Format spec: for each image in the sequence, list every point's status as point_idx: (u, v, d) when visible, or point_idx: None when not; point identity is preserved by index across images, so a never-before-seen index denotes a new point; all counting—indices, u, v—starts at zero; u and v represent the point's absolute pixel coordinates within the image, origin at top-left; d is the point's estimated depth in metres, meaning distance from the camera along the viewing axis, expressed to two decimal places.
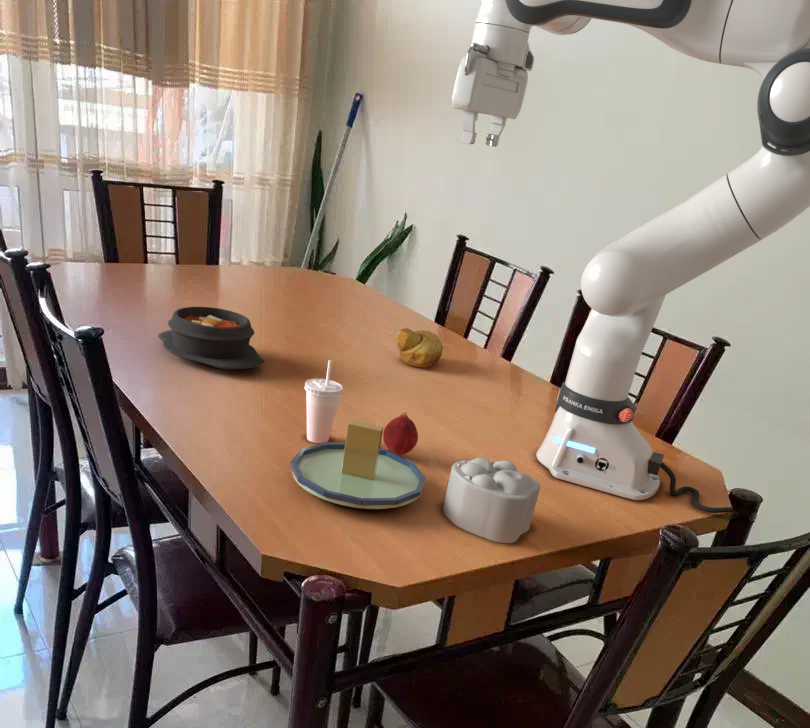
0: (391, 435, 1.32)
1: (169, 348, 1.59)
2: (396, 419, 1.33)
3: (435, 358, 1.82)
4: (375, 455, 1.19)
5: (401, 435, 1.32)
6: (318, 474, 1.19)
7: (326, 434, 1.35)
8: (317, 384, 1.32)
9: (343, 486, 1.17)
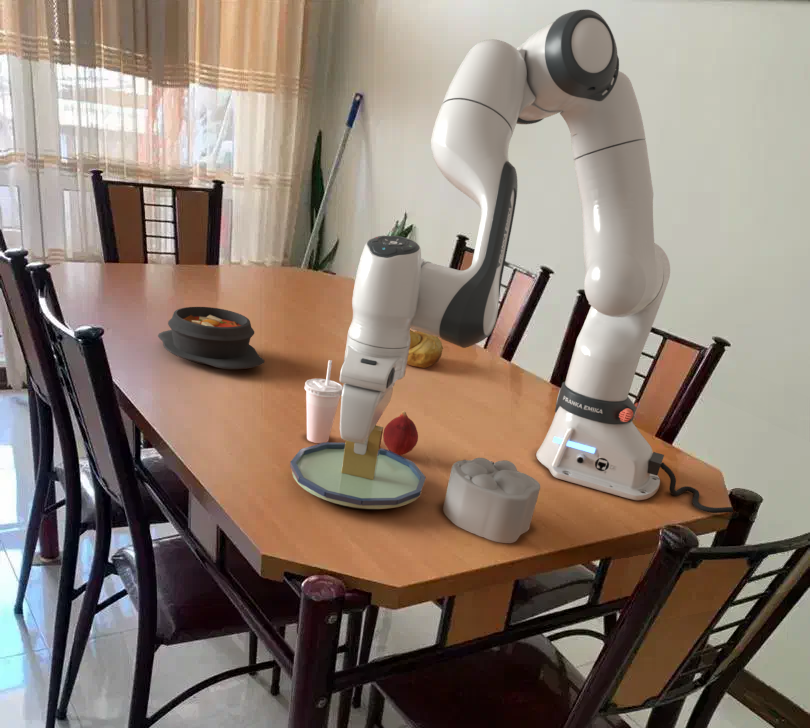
0: (391, 435, 1.32)
1: (169, 348, 1.59)
2: (396, 419, 1.33)
3: (435, 358, 1.82)
4: (375, 455, 1.19)
5: (401, 435, 1.32)
6: (318, 474, 1.19)
7: (326, 434, 1.35)
8: (317, 384, 1.32)
9: (343, 486, 1.17)
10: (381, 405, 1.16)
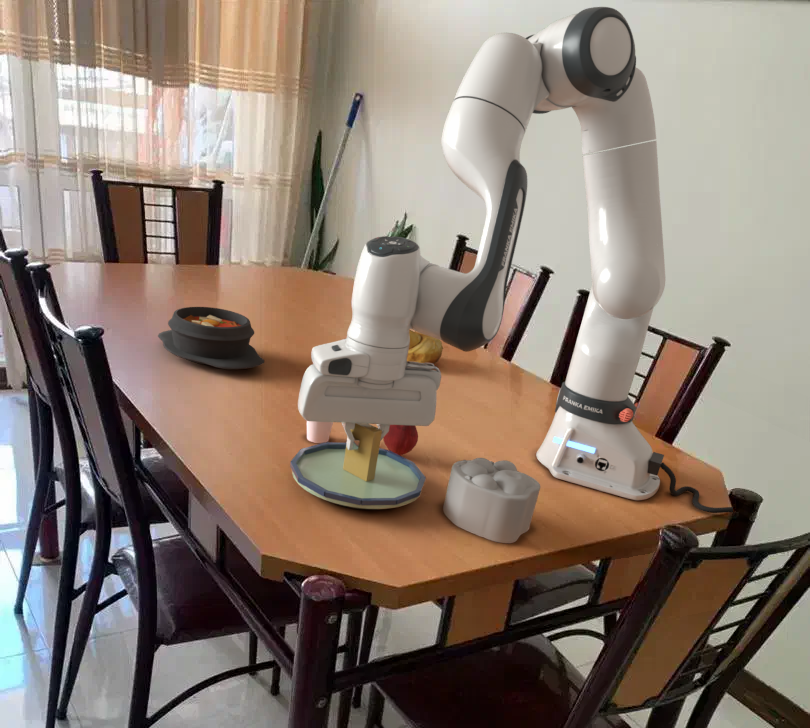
0: (391, 435, 1.32)
1: (169, 348, 1.59)
2: None
3: (435, 358, 1.82)
4: (369, 456, 1.18)
5: (401, 435, 1.32)
6: (318, 465, 1.22)
7: (326, 434, 1.35)
8: None
9: (328, 479, 1.18)
10: (372, 407, 1.15)
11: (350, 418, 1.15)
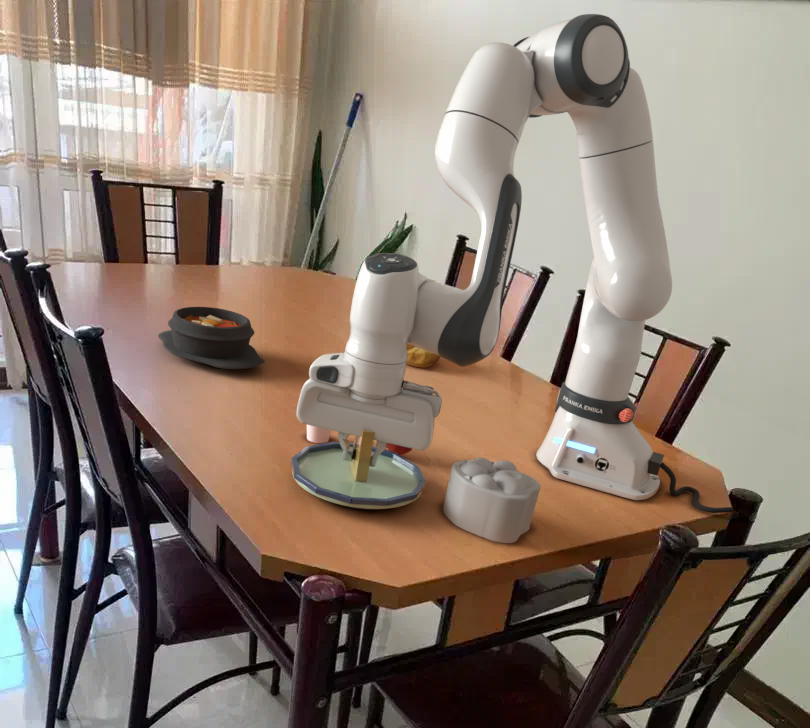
0: None
1: (169, 348, 1.59)
2: None
3: (435, 358, 1.82)
4: (358, 455, 1.18)
5: None
6: (332, 458, 1.25)
7: (326, 434, 1.35)
8: None
9: (322, 469, 1.21)
10: (364, 421, 1.16)
11: (342, 428, 1.17)
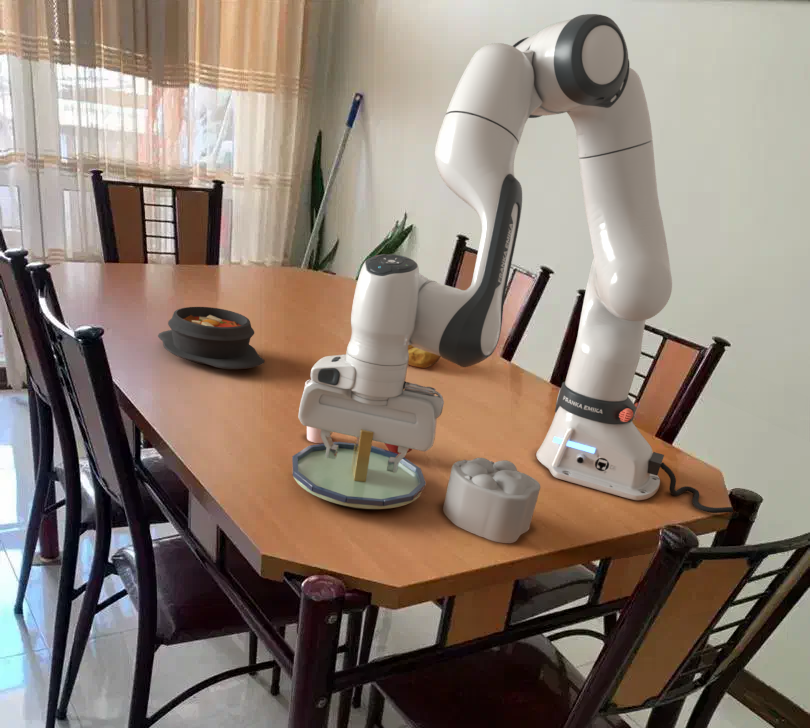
0: None
1: (169, 348, 1.59)
2: None
3: (435, 358, 1.82)
4: (357, 455, 1.18)
5: None
6: None
7: None
8: None
9: (322, 468, 1.22)
10: (366, 423, 1.16)
11: (344, 429, 1.17)
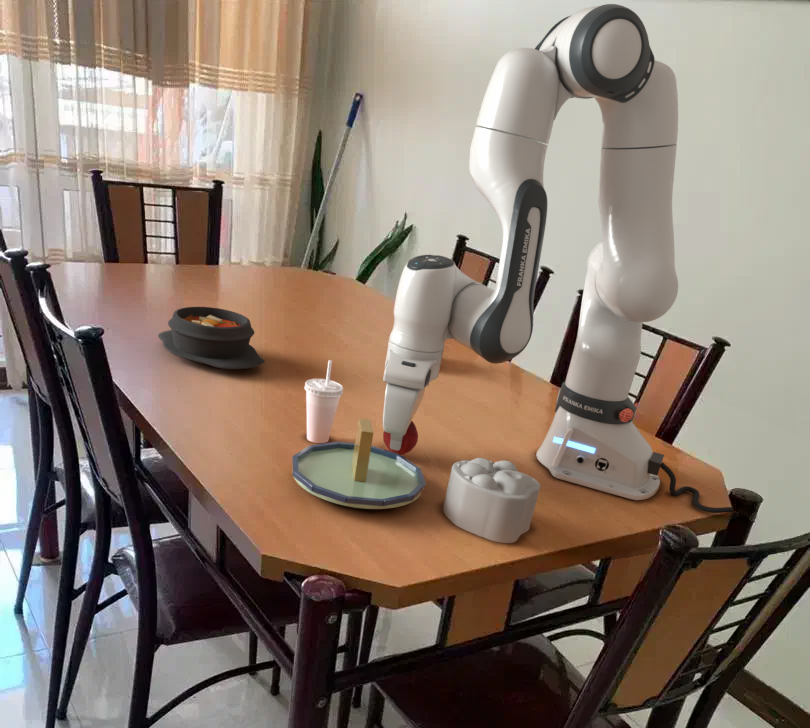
0: None
1: (169, 348, 1.59)
2: None
3: None
4: (357, 455, 1.18)
5: None
6: (334, 457, 1.26)
7: (326, 434, 1.35)
8: (317, 384, 1.32)
9: (322, 468, 1.22)
10: (417, 402, 1.32)
11: (412, 418, 1.30)
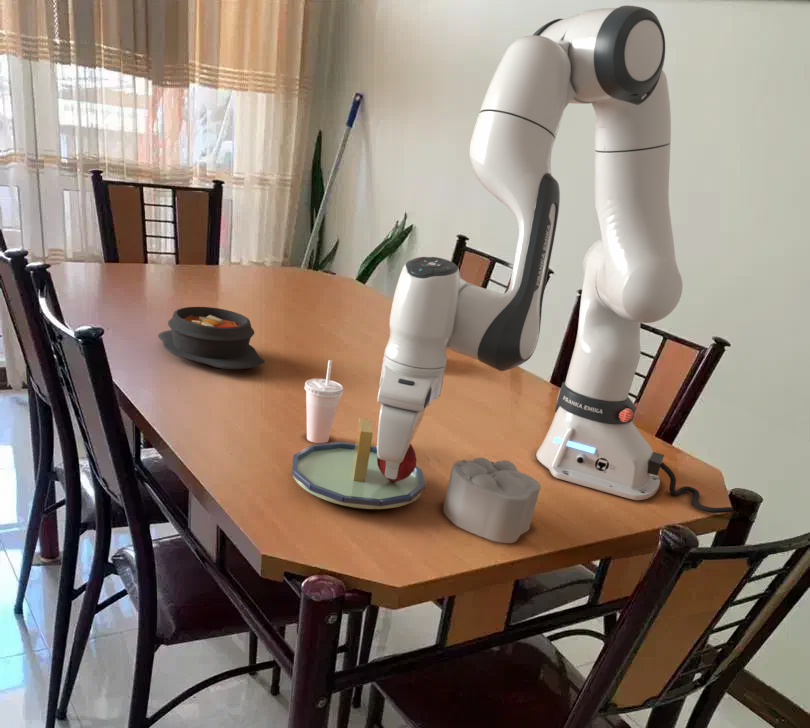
0: None
1: (169, 348, 1.59)
2: None
3: None
4: (356, 455, 1.18)
5: None
6: (336, 457, 1.26)
7: (326, 434, 1.35)
8: (317, 384, 1.32)
9: (322, 467, 1.22)
10: (416, 424, 1.17)
11: (410, 442, 1.15)
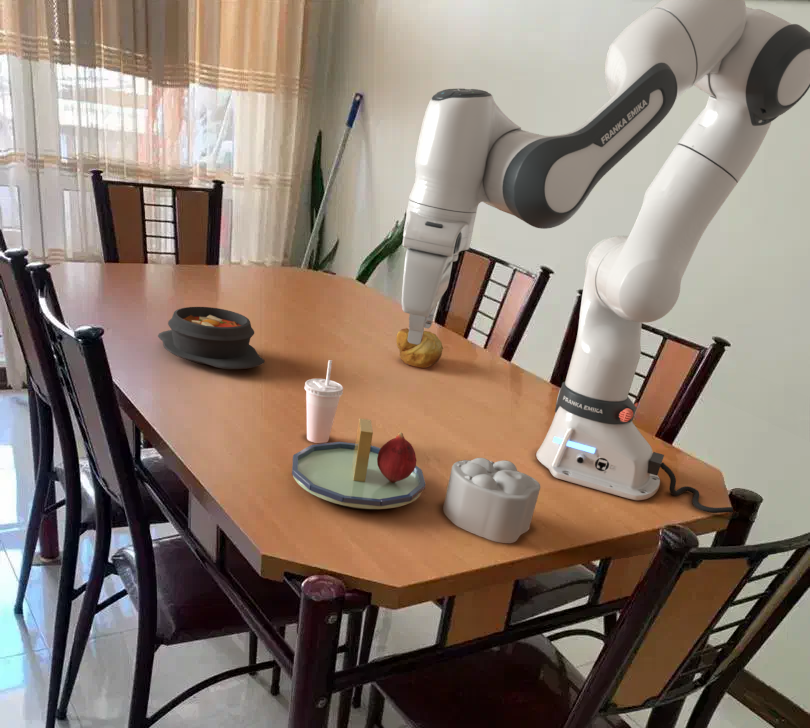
0: (385, 459, 1.17)
1: (169, 348, 1.59)
2: (392, 441, 1.18)
3: (435, 358, 1.82)
4: (356, 455, 1.18)
5: (397, 459, 1.17)
6: (336, 457, 1.26)
7: (326, 434, 1.35)
8: (317, 384, 1.32)
9: (322, 467, 1.22)
10: (442, 283, 1.07)
11: (436, 301, 1.05)
